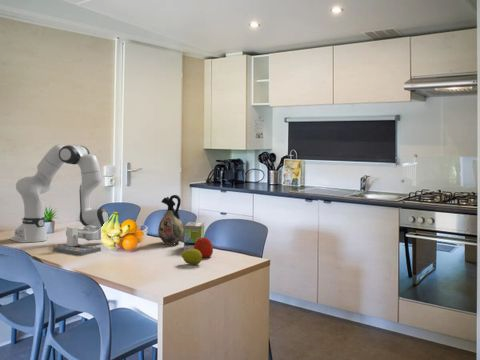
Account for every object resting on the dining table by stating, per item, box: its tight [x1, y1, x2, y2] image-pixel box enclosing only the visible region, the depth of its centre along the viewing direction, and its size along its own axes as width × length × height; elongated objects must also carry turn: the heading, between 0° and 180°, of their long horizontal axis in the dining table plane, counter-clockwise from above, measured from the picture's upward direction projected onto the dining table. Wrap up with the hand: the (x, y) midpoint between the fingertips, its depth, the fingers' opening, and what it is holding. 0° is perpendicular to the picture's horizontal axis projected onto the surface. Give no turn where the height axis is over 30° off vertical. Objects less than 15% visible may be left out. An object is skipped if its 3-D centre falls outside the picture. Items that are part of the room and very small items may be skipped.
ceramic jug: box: [157, 194, 185, 245], centre depth 275 cm, size 17×15×30 cm
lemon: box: [180, 249, 203, 266], centre depth 223 cm, size 11×8×8 cm
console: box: [52, 243, 102, 257], centre depth 249 cm, size 21×14×3 cm, turn 62°
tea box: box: [183, 221, 205, 252], centre depth 261 cm, size 15×10×15 cm, turn 179°
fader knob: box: [64, 226, 80, 247], centre depth 250 cm, size 6×5×10 cm
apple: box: [194, 237, 214, 258], centre depth 241 cm, size 10×10×10 cm
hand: (71, 236), depth 249 cm, fingers closed on fader knob, 4 cm apart
